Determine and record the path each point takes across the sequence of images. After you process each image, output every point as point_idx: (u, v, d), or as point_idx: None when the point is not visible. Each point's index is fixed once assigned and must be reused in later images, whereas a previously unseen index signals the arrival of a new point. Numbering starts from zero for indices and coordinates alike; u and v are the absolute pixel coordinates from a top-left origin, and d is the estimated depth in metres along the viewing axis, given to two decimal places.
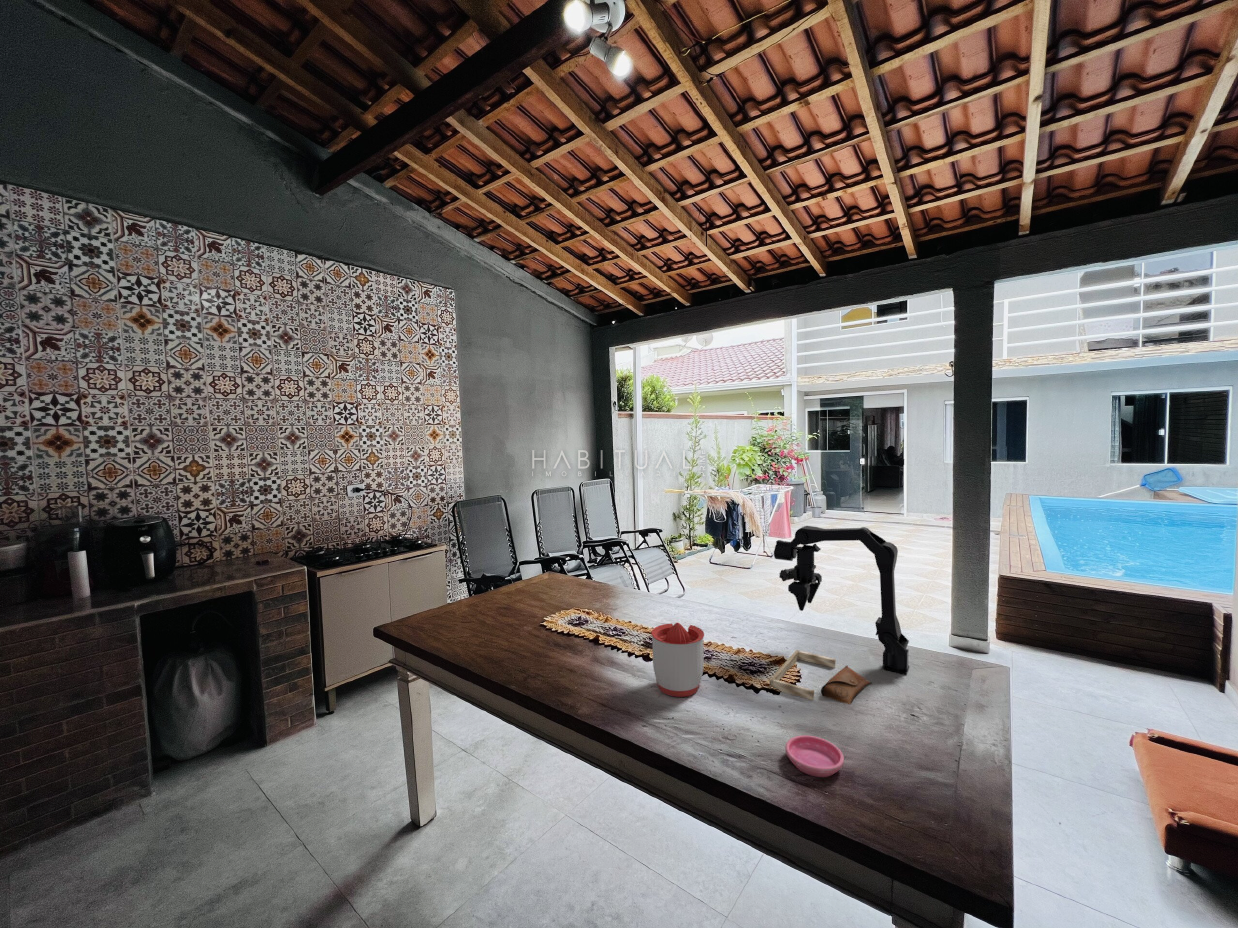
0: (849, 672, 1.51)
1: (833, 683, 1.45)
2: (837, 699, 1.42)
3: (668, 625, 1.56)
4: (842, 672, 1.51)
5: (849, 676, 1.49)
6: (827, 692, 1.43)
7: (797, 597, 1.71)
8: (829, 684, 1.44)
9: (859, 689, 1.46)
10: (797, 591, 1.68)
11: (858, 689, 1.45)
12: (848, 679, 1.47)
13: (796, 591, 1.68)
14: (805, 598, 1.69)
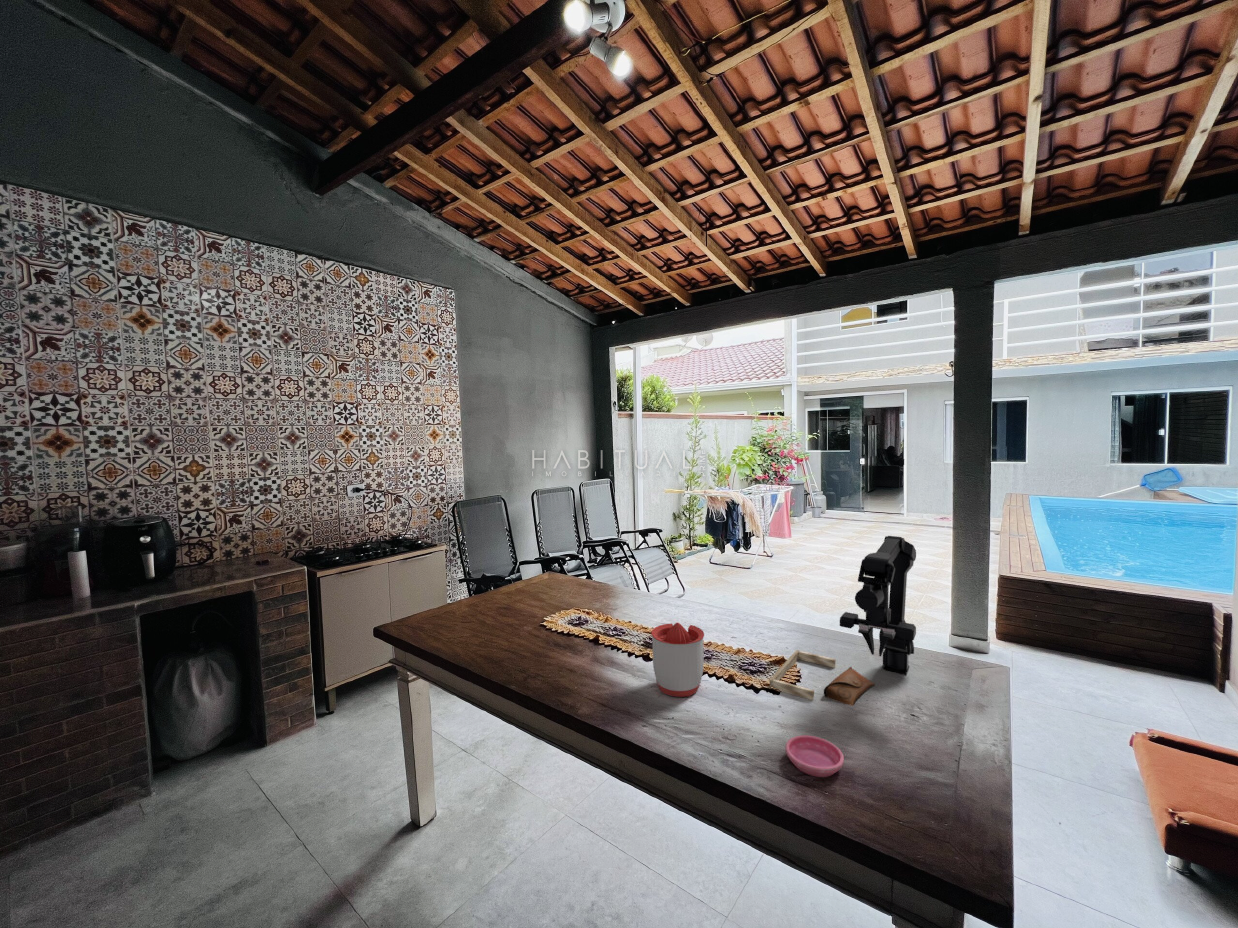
0: (853, 673, 1.50)
1: (836, 684, 1.44)
2: (840, 700, 1.41)
3: (668, 625, 1.56)
4: (845, 673, 1.50)
5: (853, 677, 1.48)
6: (829, 693, 1.43)
7: None
8: (832, 685, 1.44)
9: (862, 690, 1.45)
10: None
11: (861, 690, 1.44)
12: (851, 680, 1.47)
13: None
14: None
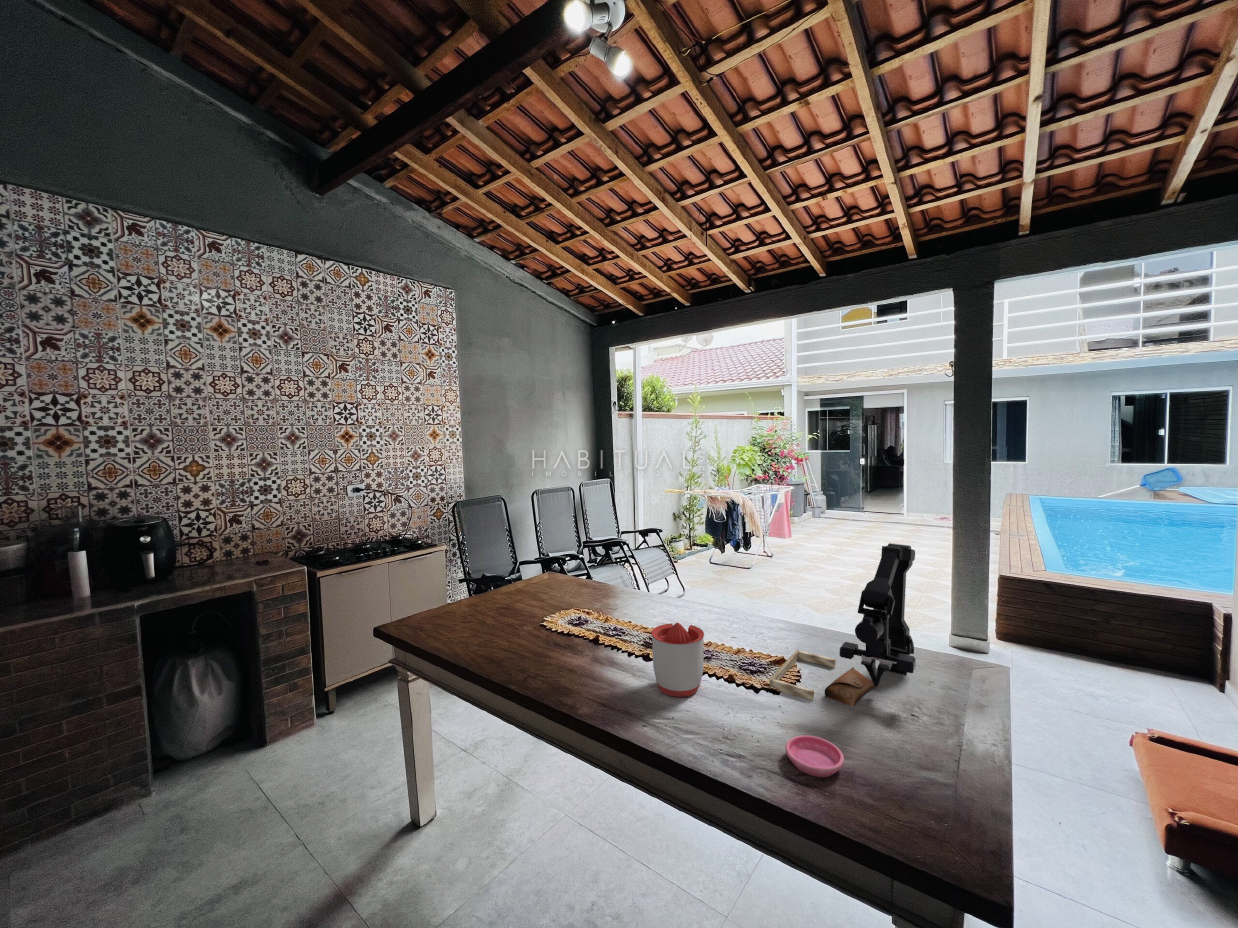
0: (854, 674, 1.49)
1: (837, 684, 1.44)
2: (840, 700, 1.41)
3: (668, 625, 1.56)
4: (847, 674, 1.49)
5: (854, 677, 1.48)
6: (830, 693, 1.43)
7: None
8: (833, 685, 1.44)
9: (864, 691, 1.44)
10: None
11: (863, 691, 1.44)
12: (853, 680, 1.46)
13: None
14: None
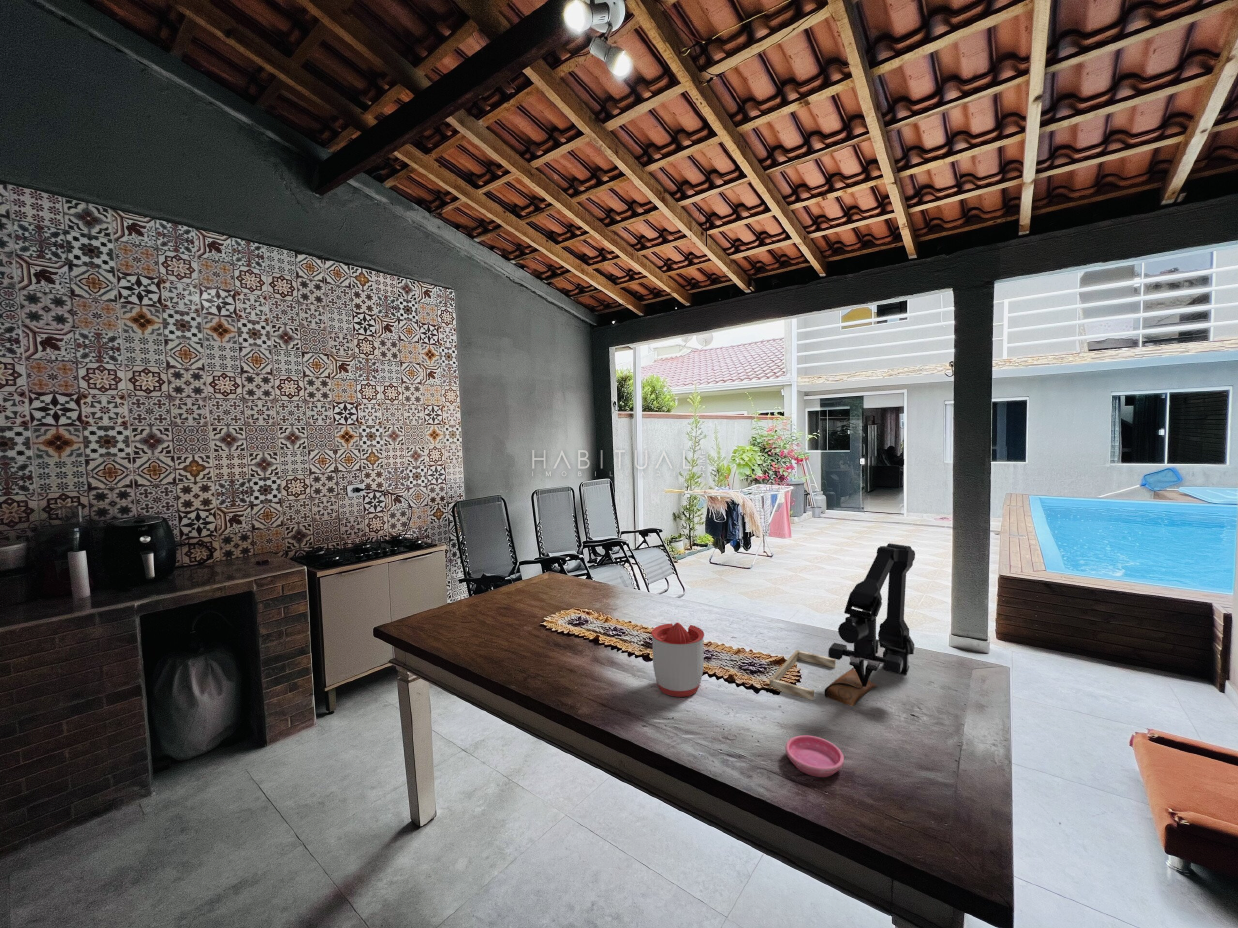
0: (854, 674, 1.49)
1: (837, 685, 1.44)
2: (840, 701, 1.41)
3: (668, 625, 1.56)
4: (847, 674, 1.49)
5: (854, 678, 1.48)
6: (830, 694, 1.43)
7: None
8: (833, 686, 1.44)
9: (864, 692, 1.44)
10: None
11: (862, 691, 1.44)
12: (852, 681, 1.46)
13: None
14: None
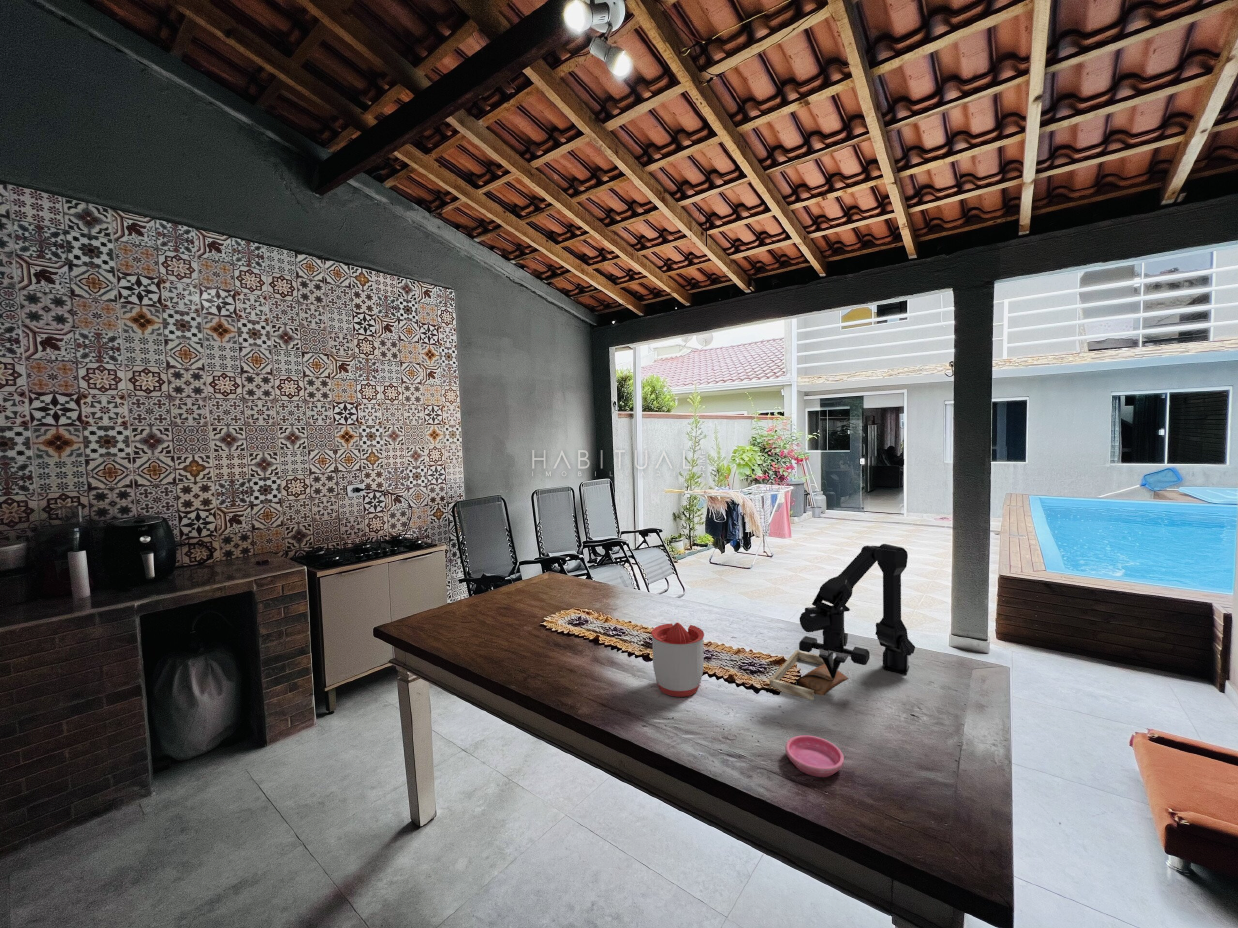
0: None
1: (808, 677, 1.50)
2: None
3: (668, 625, 1.56)
4: (820, 667, 1.55)
5: (826, 671, 1.53)
6: (801, 685, 1.48)
7: None
8: (804, 677, 1.49)
9: (835, 684, 1.50)
10: None
11: (833, 683, 1.49)
12: (824, 673, 1.52)
13: None
14: None
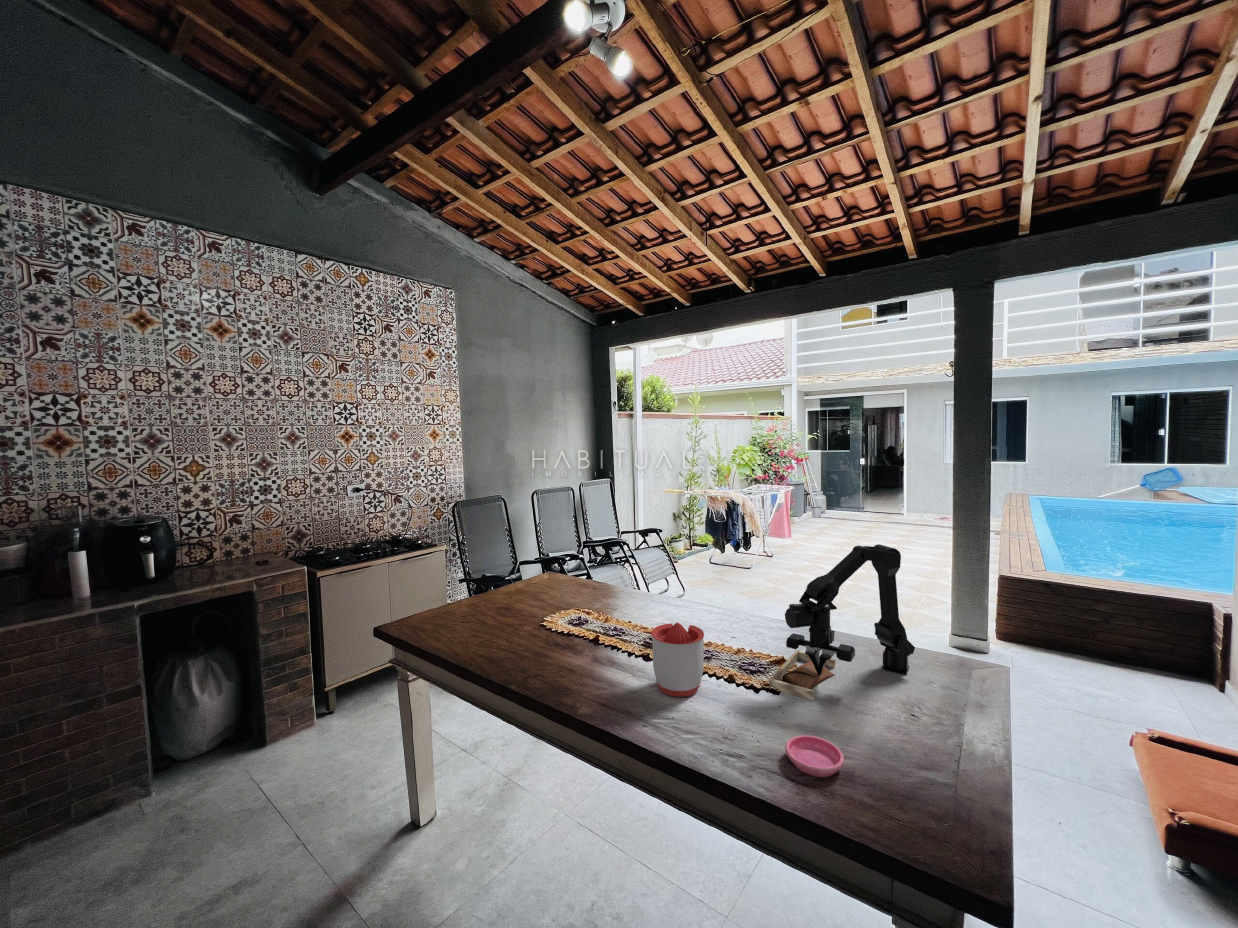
0: None
1: (794, 673, 1.52)
2: None
3: (668, 625, 1.56)
4: (807, 664, 1.57)
5: (813, 667, 1.55)
6: (787, 681, 1.51)
7: None
8: (790, 673, 1.52)
9: (820, 680, 1.52)
10: None
11: (819, 680, 1.52)
12: (810, 670, 1.54)
13: None
14: None
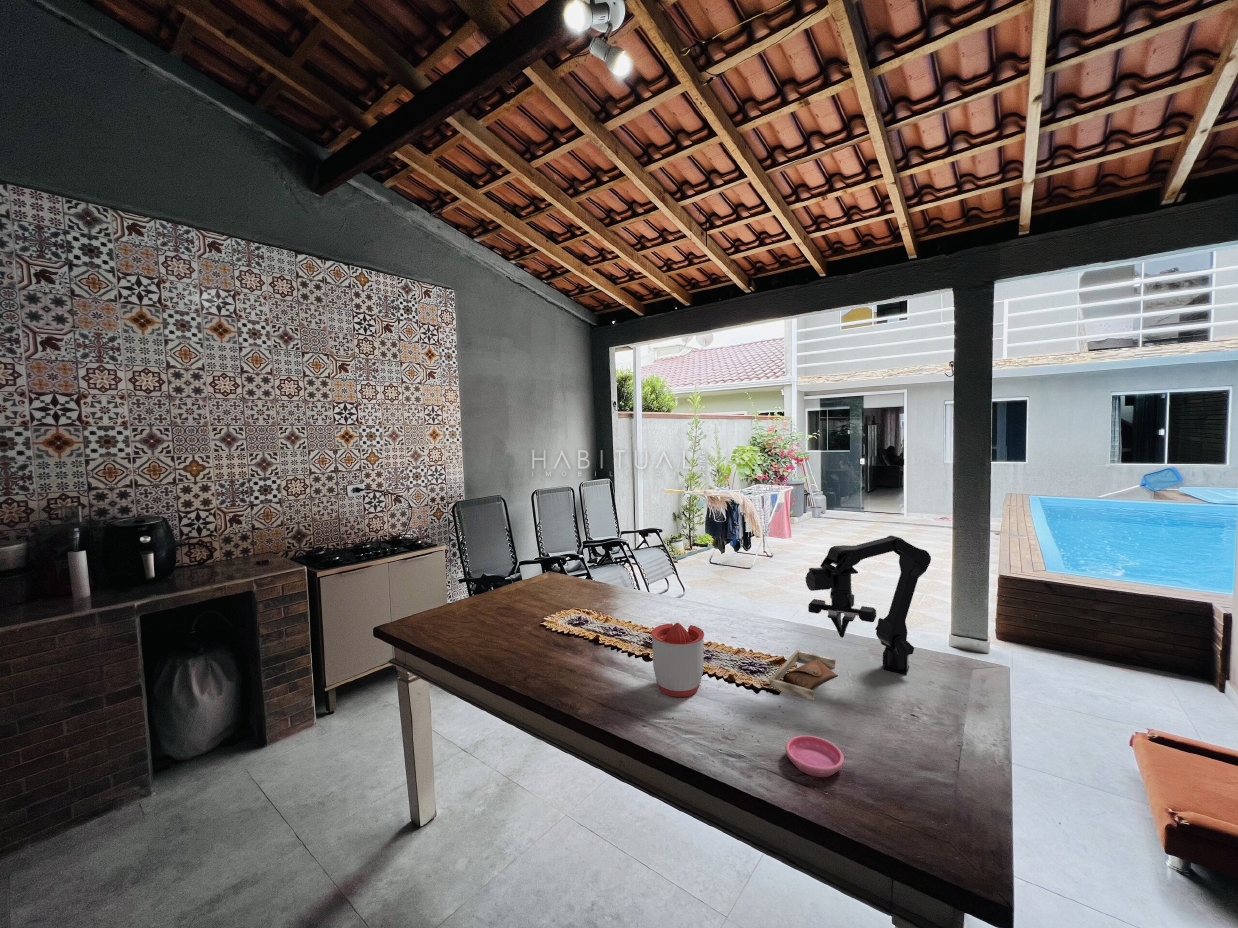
0: (816, 664, 1.56)
1: (795, 673, 1.52)
2: None
3: (668, 625, 1.56)
4: (809, 663, 1.57)
5: (814, 667, 1.55)
6: (787, 680, 1.51)
7: None
8: (791, 673, 1.51)
9: (822, 680, 1.51)
10: None
11: (820, 680, 1.51)
12: (812, 670, 1.53)
13: None
14: None
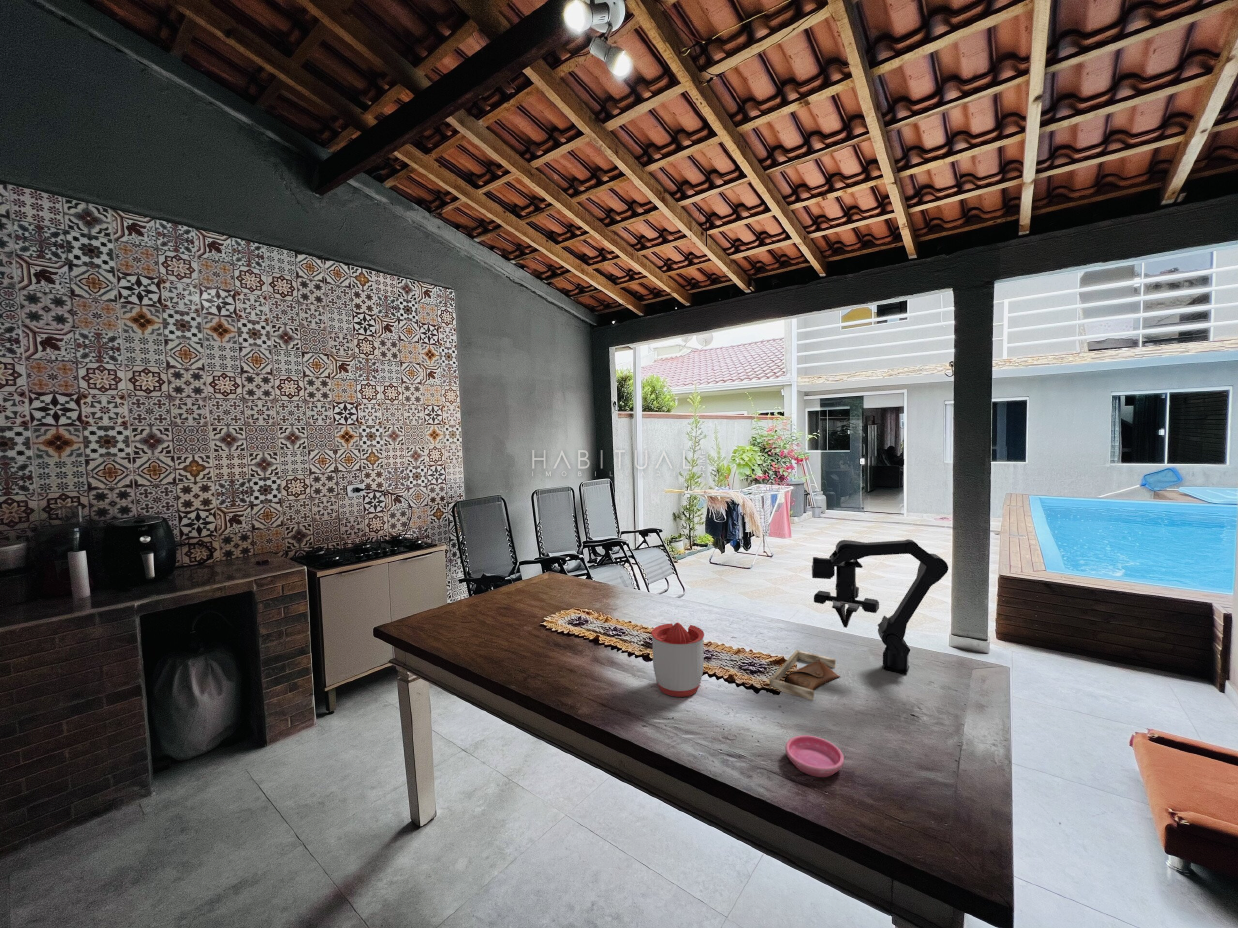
0: (818, 665, 1.56)
1: (797, 673, 1.51)
2: None
3: (668, 625, 1.56)
4: (811, 664, 1.56)
5: (816, 668, 1.54)
6: (789, 681, 1.50)
7: None
8: (792, 674, 1.51)
9: (823, 681, 1.51)
10: None
11: (822, 681, 1.50)
12: (814, 671, 1.53)
13: None
14: None
